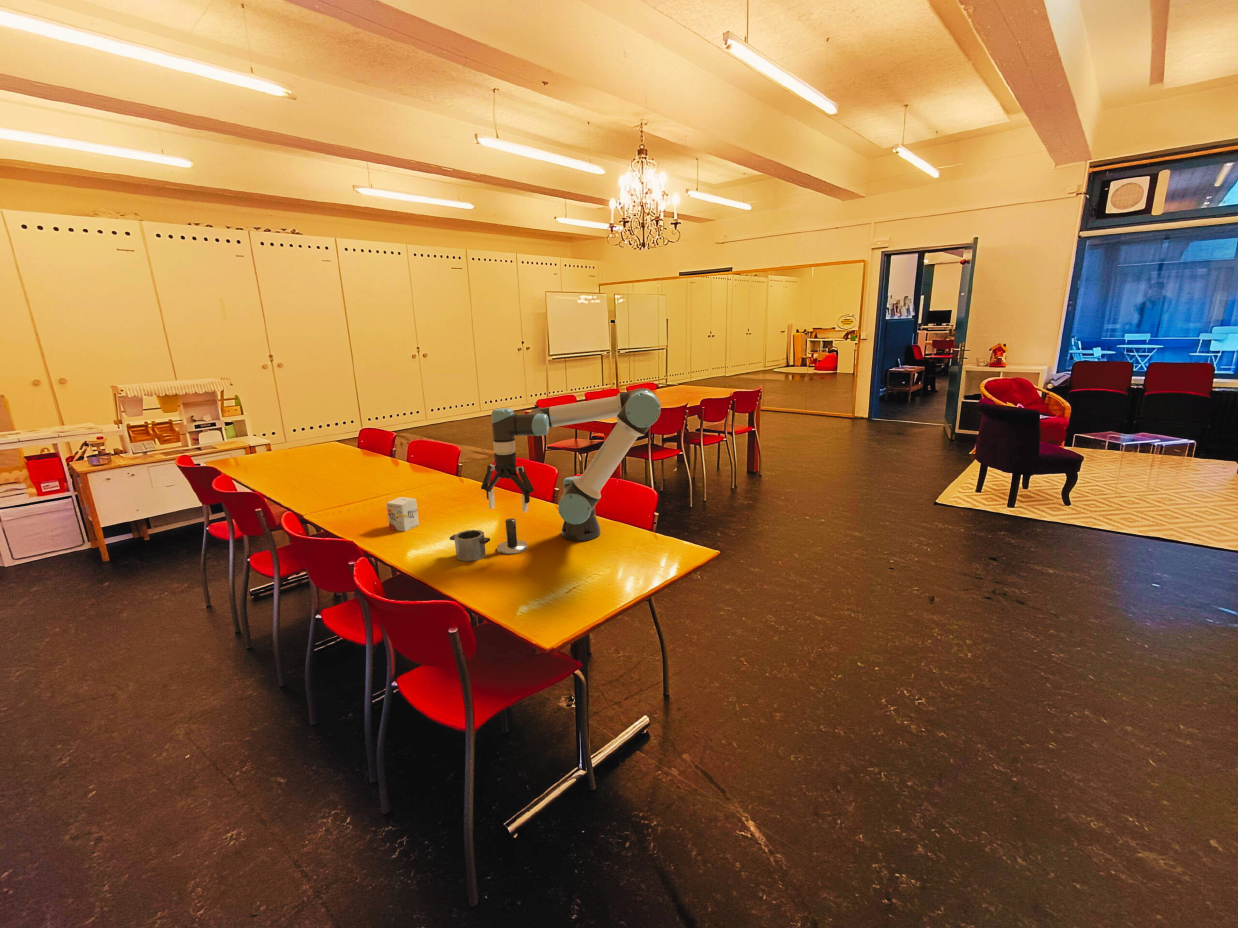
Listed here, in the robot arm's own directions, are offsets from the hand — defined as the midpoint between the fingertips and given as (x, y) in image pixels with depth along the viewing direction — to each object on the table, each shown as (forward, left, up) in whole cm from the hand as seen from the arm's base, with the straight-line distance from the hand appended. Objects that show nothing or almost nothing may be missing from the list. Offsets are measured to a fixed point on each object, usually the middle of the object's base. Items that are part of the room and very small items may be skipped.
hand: (508, 509), depth 194 cm
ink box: (+56, -9, -15) cm, 58 cm away
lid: (0, 0, -15) cm, 15 cm away
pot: (+11, +10, -15) cm, 21 cm away
